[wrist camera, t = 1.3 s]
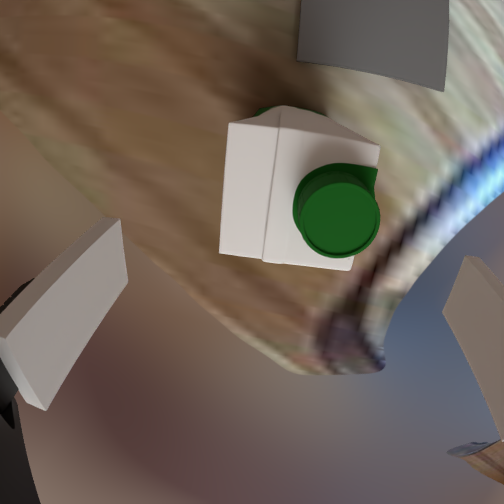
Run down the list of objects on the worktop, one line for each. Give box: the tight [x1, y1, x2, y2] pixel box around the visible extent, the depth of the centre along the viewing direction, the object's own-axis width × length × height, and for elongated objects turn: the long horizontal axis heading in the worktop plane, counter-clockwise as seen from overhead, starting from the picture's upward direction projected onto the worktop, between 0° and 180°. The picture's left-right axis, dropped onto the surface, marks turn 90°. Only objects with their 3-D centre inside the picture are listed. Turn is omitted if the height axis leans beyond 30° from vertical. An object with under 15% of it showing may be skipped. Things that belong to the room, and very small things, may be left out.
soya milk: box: [219, 106, 380, 271], centre depth 24 cm, size 9×9×20 cm
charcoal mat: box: [297, 0, 449, 92], centre depth 23 cm, size 16×16×1 cm
